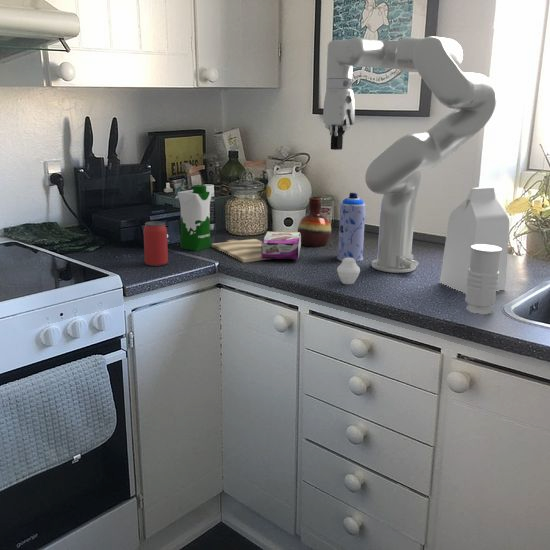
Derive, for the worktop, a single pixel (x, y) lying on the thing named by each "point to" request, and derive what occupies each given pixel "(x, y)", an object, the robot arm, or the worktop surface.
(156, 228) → the beer can
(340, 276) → the white rounded jar
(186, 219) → the milk carton
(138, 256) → the worktop surface
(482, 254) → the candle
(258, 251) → the cutting board
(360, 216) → the aerosol can
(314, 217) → the vase
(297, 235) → the candy bar box
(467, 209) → the milk
